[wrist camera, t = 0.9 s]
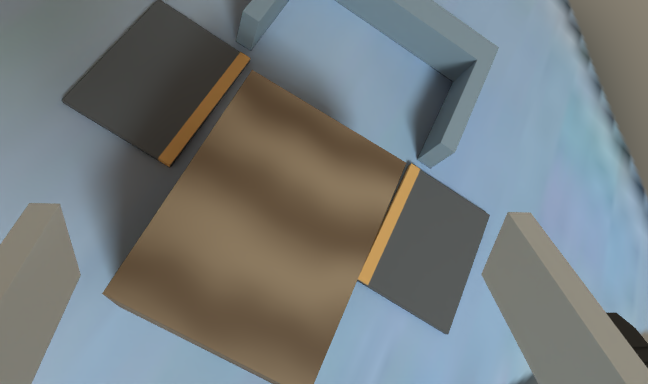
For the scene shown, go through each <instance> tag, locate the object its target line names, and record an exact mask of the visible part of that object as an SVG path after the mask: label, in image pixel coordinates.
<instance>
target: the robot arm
mask: <svg viewBox="0 0 648 384" xmlns="http://www.w3.org/2000/svg"><path fill="white" fill-rule="evenodd" d="M80 275H81V274H80V271H79V268H78V264H77V261H76V257H75V254H74V251H73V247H72V244H71V240H70V237H69V234H68V230H67V227H66V223H65V220H64V217H63V213H62V210H61V206H60V204H45V203H29V205H28V206H27V207H26V209H25V210H24V212H23V213H22V214H21V216H20V217H19V219H18V220H17V222H16V223H15V224H14V226H13V227H12V229H11V230H10V232H9V233H8V234H7V236H6V237H5V239H4V240H3V242H2V243H1V244H0V384H31V383H32V381H33V379H34V377H35V375H36V372H37V370H38V368H39V366H40V364H41V361H42V359H43V357H44V355H45V353H46V350H47V348H48V346H49V344H50V342H51V339H52V337H53V335H54V333H55V331H56V328H57V326H58V324H59V322H60V320H61V317H62V315H63V313H64V311H65V309H66V306H67V304H68V302H69V300H70V297H71V295H72V293H73V291H74V289H75V286H76V284H77V282H78V280H79V278H80ZM482 276H483V278H484V280H485V282H486V284H487V286H488V288H489V290H490V292H491V294H492V296H493V298H494V299H495V301H496V303H497V305H498V307H499V309H500V311H501V313H502V315H503V317H504V319H505V321H506V323H507V324H508V326H509V328H510V330H511V332H512V334H513V336H514V338H515V340H516V342H517V344H518V346H519V348H520V349H521V351H522V353H523V355H524V357H525V359H526V361H527V363H528V365H529V367H530V369H531V371H532V373H533V374H534V376H535V378H536V380H537V382H538V384H648V343H647V342H646V341H645V340H644V338H643V337H642V336H641V335H640V333H639V332H638V331H637V330H636V328H634V327H633V326H632V325H631V324H630V323H628V322H627V321H626V320H625V319H623V318H622V317H621V316H620V315H618V314H617V313H606V312H605V311H604V310H603V308H602V307H601V306H600V304H599V303H598V302H597V300H596V299H595V298H594V296H593V295H592V294H591V292H590V291H589V290H588V288H587V287H586V286H585V284H584V283H583V282H582V280H581V279H580V278H579V276H578V275H577V274H576V272H575V271H574V270H573V269H572V267H571V266H570V265H569V263H568V262H567V261H566V259H565V258H564V257H563V255H562V254H561V253H560V251H559V250H558V249H557V247H556V246H555V245H554V243H553V242H552V241H551V239H550V238H549V237H548V235H547V234H546V233H545V231H544V230H543V229H542V227H541V226H540V225H539V223H538V222H537V221H536V219H535V218H534V217H533V215H532V214H531V213H522V212H508V213H507V215H506V218H505V220H504V223H503V225H502V227H501V230H500V232H499V234H498V237H497V239H496V241H495V244H494V246H493V248H492V251H491V253H490V255H489V258H488V260H487V262H486V265H485V267H484V269H483V272H482Z"/></svg>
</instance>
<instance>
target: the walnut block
mask: <svg viewBox="0 0 648 384" xmlns="http://www.w3.org/2000/svg"><path fill="white" fill-rule="evenodd" d="M405 165H406V162H404V161H402V160H401V159H399V158H397V157H396V156H394V155H392V154H391V153H389V152H387V151H386V150H384V149H382V148H381V147H379V146H378V145H376V144H374V143H373V142H371V141H369V140H368V139H366V138H364V137H363V136H361V135H359V134H358V133H356V132H354V131H353V130H351V129H349V128H348V127H346V126H344V125H343V124H341V123H339V122H338V121H336V120H334V119H333V118H331V117H329V116H328V115H326V114H324V113H323V112H321V111H320V110H318V109H316V108H315V107H313V106H311V105H310V104H308V103H306V102H305V101H303V100H301V99H300V98H298V97H296V96H295V95H293V94H291V93H290V92H288V91H286V90H285V89H283V88H281V87H280V86H278V85H276V84H275V83H273V82H271V81H270V80H268V79H266V78H265V77H263V76H262V75H260V74H258V73H257V72H255V71H253V70H252V71H251V72H250V74H249V75H248V77H247V78H246V80H245V81H244V83H243V84H242V86H241V87H240V89H239V90H238V92H237V93H236V95H235V96H234V98H233V99H232V101H231V102H230V104H229V105H228V107H227V108H226V110H225V111H224V113H223V114H222V116H221V117H220V119H219V120H218V122H217V123H216V125H215V126H214V128H213V129H212V131H211V132H210V134H209V135H208V137H207V138H206V139H205V141H204V142H203V144H202V145H201V147H200V148H199V150H198V151H197V153H196V154H195V156H194V157H193V159H192V160H191V162H190V163H189V165H188V166H187V168H186V169H185V171H184V172H183V174H182V175H181V177H180V178H179V180H178V181H177V183H176V184H175V186H174V187H173V189H172V190H171V192H170V193H169V195H168V196H167V198H166V199H165V201H164V202H163V204H162V205H161V207H160V208H159V210H158V211H157V213H156V214H155V216H154V217H153V219H152V220H151V222H150V223H149V225H148V226H147V228H146V229H145V231H144V232H143V233H142V235H141V236H140V238H139V239H138V241H137V242H136V244H135V245H134V247H133V248H132V250H131V251H130V253H129V254H128V256H127V257H126V259H125V260H124V262H123V263H122V265H121V266H120V268H119V269H118V271H117V272H116V274H115V275H114V277H113V278H112V280H111V281H110V283H109V284H108V286H107V287H106V289H105V290H104V292H103V293H102V294H103V295H105V296H106V297H107V298H109V299H110V300H111V301H112V302H114V303H115V304H116V305H118V306H119V307H121V308H123V309H125V310H127V311H129V312H131V313H133V314H135V315H137V316H139V317H141V318H143V319H145V320H147V321H149V322H151V323H153V324H155V325H157V326H159V327H161V328H163V329H165V330H167V331H169V332H171V333H173V334H175V335H177V336H179V337H181V338H183V339H185V340H187V341H189V342H191V343H193V344H195V345H197V346H199V347H201V348H203V349H205V350H207V351H209V352H211V353H213V354H215V355H217V356H219V357H221V358H223V359H225V360H227V361H229V362H231V363H233V364H235V365H237V366H239V367H240V368H242V369H244V370H246V371H248V372H250V373H252V374H254V375H256V376H258V377H260V378H262V379H264V380H266V381H268V382H270V383H272V384H314V382H315V380H316V377H317V375H318V372H319V370H320V368H321V365H322V363H323V360H324V358H325V356H326V353H327V351H328V349H329V346H330V344H331V341H332V339H333V337H334V334H335V332H336V330H337V327H338V325H339V322H340V320H341V318H342V315H343V313H344V310H345V308H346V306H347V303H348V301H349V299H350V296H351V294H352V291H353V289H354V287H355V284H356V282H357V280H358V277H359V275H360V272H361V270H362V268H363V265H364V263H365V260H366V258H367V256H368V253H369V251H370V249H371V246H372V244H373V241H374V239H375V237H376V234H377V232H378V230H379V227H380V225H381V222H382V220H383V218H384V215H385V213H386V210H387V208H388V206H389V203H390V201H391V199H392V196H393V194H394V191H395V189H396V187H397V184H398V182H399V180H400V177H401V175H402V172H403V170H404V168H405Z"/></svg>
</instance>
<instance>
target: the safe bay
mask: <svg viewBox="0 0 648 384" xmlns="http://www.w3.org/2000/svg"><path fill="white" fill-rule="evenodd" d="M288 1H289V0H252V1H251V2H250V3H249V4H248V5H247V7H246V8H245V9H244V10H243V13H242V17H241V21H240V26H239V30H238V34H237V38H236V42H238V43H239V44H241V45H243V46H244V47H246V48H247V49H249V50H250V51H251V50H252V48H253V47H254V46H255V44H256V43H257V42H258V40H259V39H260V38H261V36H262V35H263V34H264V33H265V31H266V30H267V29H268V27H269V26H270V25H271V23H272V22H273V21H274V19H275V18H276V17H277V15H278V14H279V13H280V12H281V10H282V9H283V8H284V6H285V5H286V4H287V2H288ZM335 1H337V2H338V3H340V4H341V5H343V6H344V7H346V8H347V9H348V10H350V11H351V12H353V13H354V14H356V15H357V16H359V17H360V18H362V19H363V20H364V21H366V22H367V23H369V24H370V25H372V26H373V27H375V28H376V29H378V30H379V31H380V32H382V33H383V34H385V35H386V36H388V37H389V38H391V39H392V40H394V41H395V42H396V43H398V44H399V45H401V46H402V47H404V48H405V49H407V50H408V51H410V52H411V53H412V54H414V55H415V56H417V57H418V58H420V59H421V60H423V61H424V62H426V63H427V64H428V65H430V66H431V67H433V68H434V69H436V70H437V71H439V72H440V73H442V74H443V75H444V76H446V77H447V78H449V79H450V80H452V81H453V83H452V86H451V88H450V90H449V92H448V94H447V96H446V99H445V101H444V103H443V105H442V107H441V109H440V112H439V114H438V116H437V118H436V120H435V122H434V125H433V127H432V129H431V131H430V133H429V135H428V138H427V140H426V142H425V144H424V146H423V148H422V151H421V153H420V155H419V157H418V159H417V160H418V161H420V162H421V163H423V164H424V165H426V166H427V167H429V168H432V167H433V166H435V165H436V164H438V163H439V162H441V161H442V160H444V159H445V158H447V157H448V156H450V155H451V154H453V153H454V152H455V151H456V148H457V146H458V144H459V141H460V139H461V137H462V134H463V132H464V129H465V127H466V125H467V122H468V120H469V117H470V115H471V113H472V110H473V108H474V106H475V103H476V101H477V98H478V96H479V94H480V91H481V89H482V87H483V84H484V82H485V79H486V77H487V75H488V72H489V70H490V67H491V65H492V63H493V60H494V58H495V56H496V53H497V51H498V48H499V47H497V46H496V45H494V44H493V43H492V42H490V41H489V40H487V39H486V38H485V37H483V36H482V35H480V34H479V33H477V32H476V31H475V30H473V29H472V28H470V27H469V26H468V25H466V24H465V23H463V22H462V21H461V20H459V19H458V18H456V17H455V16H453V15H452V14H451V13H449V12H448V11H446V10H445V9H444V8H442V7H441V6H439V5H438V4H437V3H435V2H434V1H432V0H335Z"/></svg>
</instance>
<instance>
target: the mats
mask: <svg viewBox="0 0 648 384" xmlns="http://www.w3.org/2000/svg"><path fill="white" fill-rule="evenodd" d="M250 59H251V58H249V57H248V56H246V55H245V54H243V53H242V52H239V51H237V50H236V49H234V48H233V47H231V46H230V45H228V44H227V43H225V42H224V41H222V40H221V39H219V38H218V37H216V36H214V35H213V34H211V33H210V32H208V31H207V30H205V29H204V28H202V27H201V26H199V25H198V24H196V23H195V22H193V21H191V20H190V19H188V18H187V17H185V16H184V15H182V14H181V13H179V12H178V11H176V10H175V9H173V8H172V7H170V6H168V5H167V4H165V3H164V2H162V1H161V0H157V1H156V2H155V3H154V4H153V6H152V7H151V8H150V9H149V10H148V11H147V12H146V13H145V14H144V15H143V16H142V17H141V18H140V19H139V20H138V21H137V22H136V23H135V24H134V25H133V26H132V27H131V28H130V29H129V31H128V32H127V33H126V34H125V35H124V36H123V37H122V38H121V39H120V40H119V41H118V42H117V43H116V44H115V45H114V46H113V47H112V48H111V49H110V50H109V51H108V52H107V53H106V54H105V56H104V57H103V58H102V59H101V60H100V61H99V62H98V63H97V64H96V65H95V66H94V67H93V68H92V69H91V70H90V71H89V72H88V73H87V74H86V75H85V76H84V77H83V78H82V79H81V81H80V82H79V83H78V84H77V85H76V86H75V87H74V88H73V89H72V90H71V91H70V92H69V93H68V94H67V95H66V96H65V97H64V98H63V99H62V102H63V103H64V104H66V105H68V106H69V107H71V108H72V109H74V110H76V111H77V112H79V113H81V114H82V115H84V116H86V117H87V118H89V119H91V120H92V121H94V122H96V123H97V124H99V125H101V126H102V127H104V128H106V129H107V130H109V131H110V132H112V133H114V134H115V135H117V136H119V137H120V138H122V139H124V140H125V141H127V142H129V143H130V144H132V145H134V146H135V147H137V148H139V149H140V150H142V151H144V152H145V153H147V154H149V155H150V156H152V157H153V158H155V159H157V160H158V161H160V162H162V163H163V164H165V165H167V166H168V167H171V165H172V164H173V163H174V161H175V160H176V159H177V157H178V156H179V155H180V153H181V152H182V151H183V149H184V148H185V147H186V145H187V144H188V143H189V141H190V140H191V139H192V138H193V136H194V135H195V134H196V132H197V131H198V130H199V128H200V127H201V126H202V124H203V123H204V122H205V120H206V119H207V118H208V116H209V115H210V114H211V112H212V111H213V110H214V108H215V107H216V106H217V104H218V103H219V102H220V100H221V99H222V98H223V96H224V95H225V94H226V92H227V91H228V90H229V88H230V87H231V86H232V84H233V83H234V82H235V80H236V79H237V78H238V76H239V75H240V74H241V72H242V71H243V70H244V68H245V67H246V66H247V64H248V63H249V62H250ZM489 216H490V215H489V214H487V213H486V212H484V211H483V210H481V209H480V208H478V207H477V206H475V205H473V204H472V203H470V202H469V201H467V200H466V199H464V198H463V197H461V196H460V195H458V194H457V193H455V192H454V191H452V190H451V189H449V188H447V187H446V186H444V185H443V184H441V183H440V182H438V181H437V180H435V179H434V178H432V177H431V176H429V175H428V174H426V173H424V172H423V171H421V170H420V169H419V168H418V167H416V166H415V165H413V164H412V163H411V164H410V165H409V166H408V168H407V170H406V173H405V175H404V177H403V179H402V181H401V183H400V185H399V187H398V190H397V192H396V194H395V196H394V198H393V200H392V202H391V205H390V207H389V209H388V211H387V213H386V215H385V217H384V219H383V222H382V224H381V226H380V228H379V230H378V232H377V234H376V237H375V239H374V241H373V244H372V246H371V249H370V251H369V253H368V256H367V258H366V260H365V263H364V265H363V268H362V270H361V272H360V275H359V277H358V280H357V281H358V282H360V283H362V284H363V285H365V286H367V287H368V288H370V289H372V290H373V291H375V292H377V293H378V294H380V295H382V296H383V297H385V298H387V299H388V300H390V301H392V302H393V303H395V304H396V305H398V306H400V307H401V308H403V309H405V310H406V311H408V312H410V313H411V314H413V315H415V316H416V317H418V318H420V319H421V320H423V321H425V322H426V323H428V324H430V325H431V326H433V327H434V328H436V329H438V330H439V331H441V332H443V333H444V334H448V333H449V330H450V327H451V325H452V322H453V319H454V316H455V313H456V310H457V308H458V305H459V302H460V299H461V296H462V293H463V290H464V288H465V285H466V282H467V279H468V276H469V273H470V270H471V268H472V265H473V262H474V259H475V256H476V253H477V250H478V248H479V245H480V242H481V239H482V236H483V233H484V230H485V228H486V225H487V222H488V219H489Z"/></svg>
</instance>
